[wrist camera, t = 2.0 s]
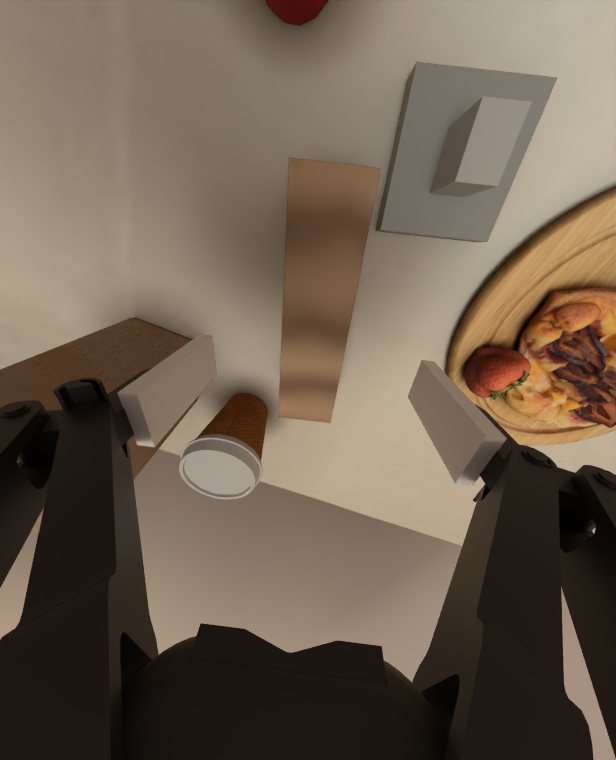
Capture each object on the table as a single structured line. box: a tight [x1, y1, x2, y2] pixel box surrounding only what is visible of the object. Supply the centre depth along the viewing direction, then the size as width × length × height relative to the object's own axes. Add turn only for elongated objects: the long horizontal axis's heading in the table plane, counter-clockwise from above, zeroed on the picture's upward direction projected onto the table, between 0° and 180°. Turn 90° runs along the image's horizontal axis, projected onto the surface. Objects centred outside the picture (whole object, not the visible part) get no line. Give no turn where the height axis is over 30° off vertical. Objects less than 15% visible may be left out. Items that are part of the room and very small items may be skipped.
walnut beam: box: [278, 158, 381, 423], centre depth 24 cm, size 22×6×8 cm, turn 174°
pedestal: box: [376, 62, 557, 242], centre depth 18 cm, size 10×10×6 cm
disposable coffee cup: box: [179, 394, 268, 499], centre depth 31 cm, size 10×10×12 cm
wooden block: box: [0, 318, 198, 533], centre depth 24 cm, size 10×10×20 cm
